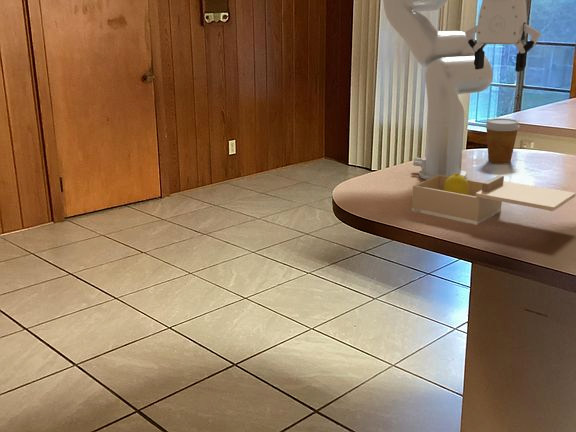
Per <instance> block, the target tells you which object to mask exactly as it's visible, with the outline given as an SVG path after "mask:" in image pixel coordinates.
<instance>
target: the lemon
mask: <svg viewBox="0 0 576 432" xmlns="http://www.w3.org/2000/svg"><path fill="white" fill-rule="evenodd" d="M466 179H467V178H464V177H463V176H461V175H459V173H455V174H454V175H452V176H450V177H449V178H448V179H447V180H446V182H445V184H444V191H447V192H453V193H458V194H464V195H468V192H469V187H468V182H467V180H468V179H467V180H466Z"/></svg>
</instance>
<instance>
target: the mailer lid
mask: <svg viewBox="0 0 576 432" xmlns="http://www.w3.org/2000/svg"><path fill="white" fill-rule="evenodd" d="M504 179H505V176H504V175H500V174H499V175H496V176H494V177H492V178H490V179H488V180H485V181H484V183H483V185H482V190H481V191H479V192H477V193H476V195H475V197H479V198H485V199H490V200H496V201H501V202H503V203H508V204H513V205H519V206H522V207H523V206H524V207H529V208H533V209H540V210H544V211H551V212H554V211H556V210H557V209H559V208H561V207H562V206H564V205H565V204H566V203H568V202H569V201H571V200H573V199H574V198H575V197H576V192H573V191H566V190H561V189H560V190H559V189H553V188H548V187H542V186H534V185H529V184H523V183H518V182H510V181H505V180H504Z"/></svg>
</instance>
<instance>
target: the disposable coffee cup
mask: <svg viewBox="0 0 576 432" xmlns="http://www.w3.org/2000/svg"><path fill="white" fill-rule="evenodd" d="M484 126H485V129H486V142H487V145H486V146H487V158H488V159H487V161H488V163H491V164H494V165H495V164H496V165H507V164H511V162H512V161H511V160H512V157H513V153H514V148H515V143H516V140H517V134H518V130H519V129H520V127H521V125H520V124H519V120H516V119H512V118H491V119H490V118H489V119H487V120H486V123H485V124H484Z"/></svg>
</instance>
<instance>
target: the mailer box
mask: <svg viewBox="0 0 576 432" xmlns="http://www.w3.org/2000/svg"><path fill="white" fill-rule="evenodd" d="M448 178H449V176H443V175H438V176H435V177H433V178H430V179H428V180H424V181H420V182H419V183H417V184H415V185H413V186H412V197H411V198H412V200H411V201H412V203H411V211H412V212H415V213H419V214H423V215H425V214H426V215H429V216H434V217H439V218H443V219H448V220H453V221H458V222H462V223H467V224H471V225H475V226H476V225H477V226H478V225H479V224H481V223H484V222H485V221H486V220H488V219H490V218H492V217H493V216H495V215H496V214H498V213H501V211H502V205H503V203H502V202H501V201H496V200H490V199H485V198H479V197H475V195H476V193H477V192H479V191H481V190H482V185H483V183H484V182H485V181H484V182H483V181H478V180H472V179H471V180H470V179H467V178H465V179H466V180H467V182H468V187H469V192H468V195H464V194H458V193H453V192H447V191H444V184H445V182H446V180H447V179H448Z"/></svg>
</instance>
